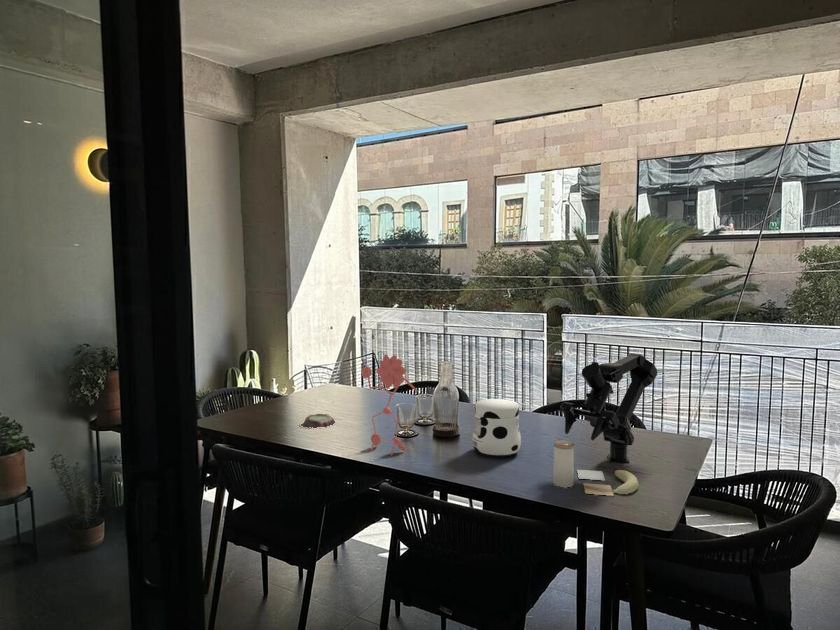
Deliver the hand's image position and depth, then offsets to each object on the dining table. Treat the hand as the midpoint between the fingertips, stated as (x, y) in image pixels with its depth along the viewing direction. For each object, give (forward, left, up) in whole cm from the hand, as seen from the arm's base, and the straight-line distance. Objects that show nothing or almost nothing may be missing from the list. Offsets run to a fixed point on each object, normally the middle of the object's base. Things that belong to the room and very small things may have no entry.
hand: (578, 436), depth 186 cm
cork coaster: (+9, +5, -13) cm, 17 cm away
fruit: (+4, +13, -14) cm, 19 cm away
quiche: (-46, -104, -15) cm, 115 cm away
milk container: (-21, -27, -14) cm, 37 cm away
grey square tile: (-3, +4, -13) cm, 14 cm away
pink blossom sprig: (-19, -65, -14) cm, 69 cm away
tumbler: (+6, -5, -13) cm, 16 cm away
